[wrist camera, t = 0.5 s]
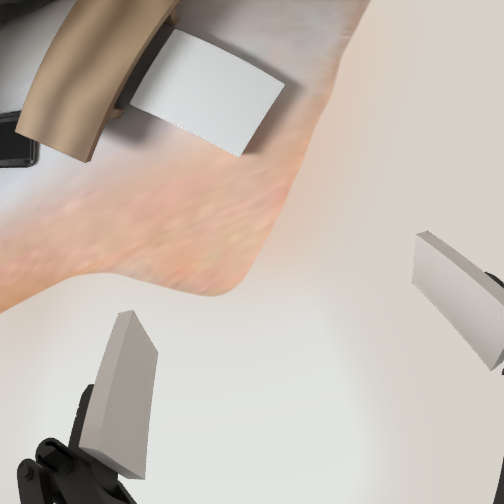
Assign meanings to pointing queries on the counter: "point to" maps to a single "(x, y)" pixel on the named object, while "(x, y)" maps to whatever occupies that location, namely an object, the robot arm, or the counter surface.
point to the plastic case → (207, 92)
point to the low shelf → (89, 71)
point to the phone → (15, 144)
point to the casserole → (17, 8)
